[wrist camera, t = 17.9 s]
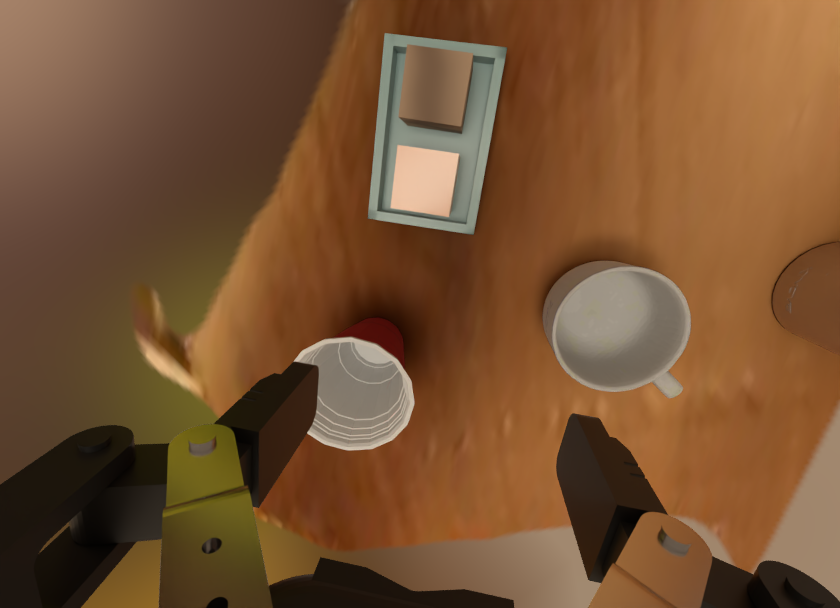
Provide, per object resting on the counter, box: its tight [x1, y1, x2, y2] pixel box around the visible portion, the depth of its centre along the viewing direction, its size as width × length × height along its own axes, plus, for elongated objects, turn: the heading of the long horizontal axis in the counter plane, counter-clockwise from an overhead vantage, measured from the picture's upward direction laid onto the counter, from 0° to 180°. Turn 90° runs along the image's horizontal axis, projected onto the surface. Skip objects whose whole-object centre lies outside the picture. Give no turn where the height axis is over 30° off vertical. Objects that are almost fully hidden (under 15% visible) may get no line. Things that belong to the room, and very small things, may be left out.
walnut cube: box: [398, 44, 473, 134], centre depth 32 cm, size 5×5×5 cm
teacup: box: [543, 261, 691, 398], centre depth 35 cm, size 14×11×8 cm
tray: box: [368, 33, 507, 235], centre depth 35 cm, size 10×15×2 cm, turn 172°
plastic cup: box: [294, 317, 414, 450], centre depth 37 cm, size 11×11×12 cm
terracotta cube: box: [391, 145, 460, 217], centre depth 34 cm, size 5×5×5 cm
